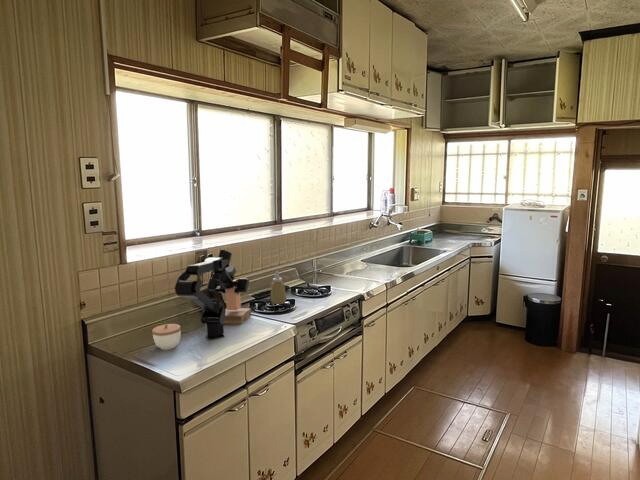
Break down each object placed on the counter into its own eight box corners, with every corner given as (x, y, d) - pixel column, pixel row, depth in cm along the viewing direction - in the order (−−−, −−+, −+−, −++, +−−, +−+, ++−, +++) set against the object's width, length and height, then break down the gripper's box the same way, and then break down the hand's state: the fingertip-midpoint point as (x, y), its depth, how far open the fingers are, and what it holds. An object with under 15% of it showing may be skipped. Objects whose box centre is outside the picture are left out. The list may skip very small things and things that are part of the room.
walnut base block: (241, 324, 198) (241, 316, 198) (217, 323, 201) (216, 315, 200) (251, 316, 210) (250, 308, 209) (228, 315, 212) (227, 307, 212)
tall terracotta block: (236, 310, 201) (234, 282, 200) (226, 309, 203) (224, 282, 201) (241, 306, 206) (238, 280, 205) (231, 306, 207) (229, 280, 206)
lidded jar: (167, 340, 181) (165, 318, 180) (187, 343, 177) (185, 321, 176) (147, 350, 171) (145, 327, 170) (169, 353, 167) (167, 330, 166)
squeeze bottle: (279, 302, 230) (278, 269, 227) (289, 305, 224) (288, 271, 222) (267, 305, 224) (265, 271, 222) (277, 308, 219) (275, 274, 216)
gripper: (246, 261, 195) (256, 279, 208) (208, 261, 199) (220, 278, 211) (240, 282, 189) (251, 300, 201) (201, 281, 193) (214, 299, 205)
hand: (234, 293), depth 205 cm, fingers closed on tall terracotta block, 5 cm apart
